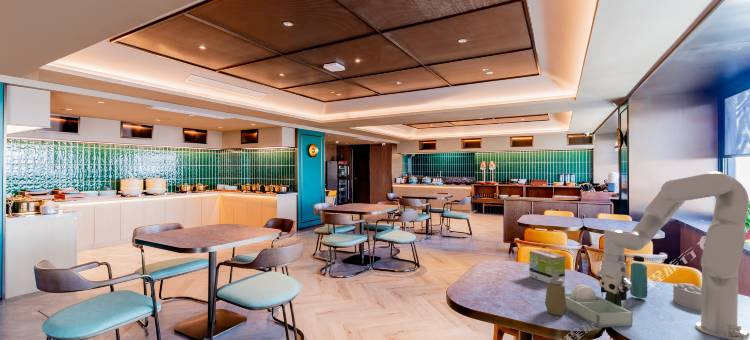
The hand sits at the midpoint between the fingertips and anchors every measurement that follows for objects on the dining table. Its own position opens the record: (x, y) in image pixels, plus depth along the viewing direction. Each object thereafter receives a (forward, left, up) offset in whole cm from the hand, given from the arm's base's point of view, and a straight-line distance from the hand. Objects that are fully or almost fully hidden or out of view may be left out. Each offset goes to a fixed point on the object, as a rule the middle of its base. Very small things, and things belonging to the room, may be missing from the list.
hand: (613, 296), depth 152 cm
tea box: (+36, +7, -5) cm, 37 cm away
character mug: (0, 0, -4) cm, 4 cm away
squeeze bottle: (-4, +31, -4) cm, 32 cm away
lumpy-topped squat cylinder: (-3, -37, -5) cm, 37 cm away
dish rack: (-7, +16, -4) cm, 18 cm away
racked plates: (-2, +16, -3) cm, 16 cm away
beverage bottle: (+6, -19, -4) cm, 20 cm away
